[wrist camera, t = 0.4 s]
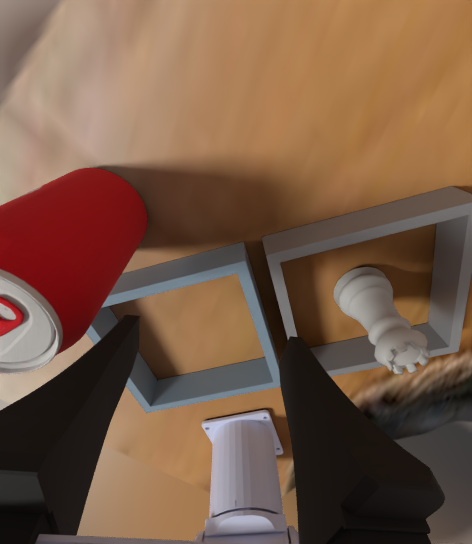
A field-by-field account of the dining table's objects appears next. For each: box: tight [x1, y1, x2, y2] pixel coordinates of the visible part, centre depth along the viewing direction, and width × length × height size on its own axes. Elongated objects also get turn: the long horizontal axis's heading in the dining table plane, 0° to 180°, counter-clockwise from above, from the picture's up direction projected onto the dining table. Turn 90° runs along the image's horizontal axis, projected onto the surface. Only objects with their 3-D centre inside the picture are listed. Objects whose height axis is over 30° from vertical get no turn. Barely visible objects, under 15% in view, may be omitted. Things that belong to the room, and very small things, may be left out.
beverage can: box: [0, 168, 147, 374], centre depth 15 cm, size 6×6×12 cm
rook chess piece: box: [334, 267, 430, 375], centre depth 21 cm, size 4×4×8 cm
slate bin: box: [86, 242, 281, 413], centre depth 25 cm, size 14×14×3 cm
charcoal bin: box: [262, 186, 472, 377], centre depth 23 cm, size 14×14×3 cm
